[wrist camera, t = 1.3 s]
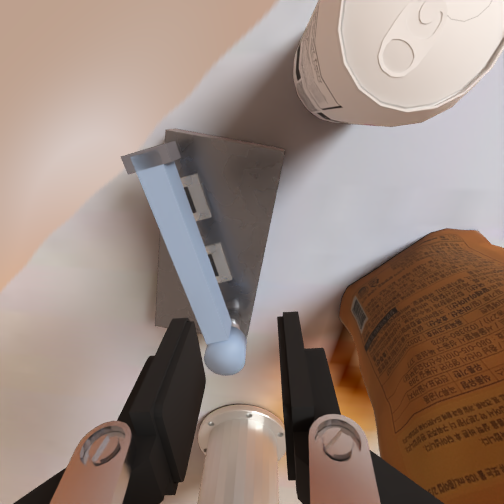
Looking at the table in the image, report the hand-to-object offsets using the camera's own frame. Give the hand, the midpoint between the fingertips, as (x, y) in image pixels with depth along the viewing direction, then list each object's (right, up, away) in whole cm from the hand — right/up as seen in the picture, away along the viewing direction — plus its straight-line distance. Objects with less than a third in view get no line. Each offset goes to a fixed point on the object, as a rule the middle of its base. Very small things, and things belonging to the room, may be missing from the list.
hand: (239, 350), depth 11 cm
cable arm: (-4, +2, +15) cm, 16 cm away
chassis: (-3, +5, +21) cm, 22 cm away
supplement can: (+8, +19, +15) cm, 25 cm away
